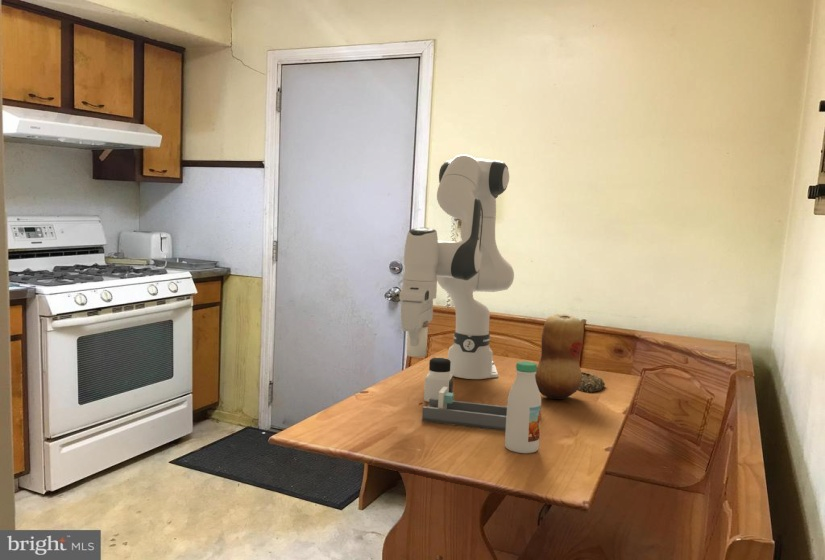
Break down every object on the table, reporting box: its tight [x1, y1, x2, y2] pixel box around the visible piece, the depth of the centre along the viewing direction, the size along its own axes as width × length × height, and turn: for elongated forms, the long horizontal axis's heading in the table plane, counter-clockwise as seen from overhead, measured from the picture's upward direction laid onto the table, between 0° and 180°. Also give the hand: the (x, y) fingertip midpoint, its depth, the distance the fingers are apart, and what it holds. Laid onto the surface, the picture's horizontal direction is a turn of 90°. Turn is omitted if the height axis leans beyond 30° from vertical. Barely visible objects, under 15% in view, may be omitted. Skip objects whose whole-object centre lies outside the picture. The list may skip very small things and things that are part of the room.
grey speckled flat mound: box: [577, 371, 606, 394], centre depth 206 cm, size 13×12×5 cm
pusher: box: [438, 387, 455, 409], centre depth 167 cm, size 6×3×6 cm, turn 166°
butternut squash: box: [535, 313, 585, 400], centre depth 189 cm, size 14×13×25 cm
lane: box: [421, 398, 507, 432], centre depth 165 cm, size 9×24×8 cm, turn 76°
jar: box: [406, 321, 429, 358], centre depth 167 cm, size 5×5×9 cm
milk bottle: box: [504, 360, 542, 454], centre depth 147 cm, size 8×8×20 cm
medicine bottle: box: [423, 356, 454, 403], centre depth 183 cm, size 7×7×12 cm
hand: (417, 343), depth 167 cm, fingers closed on jar, 5 cm apart
